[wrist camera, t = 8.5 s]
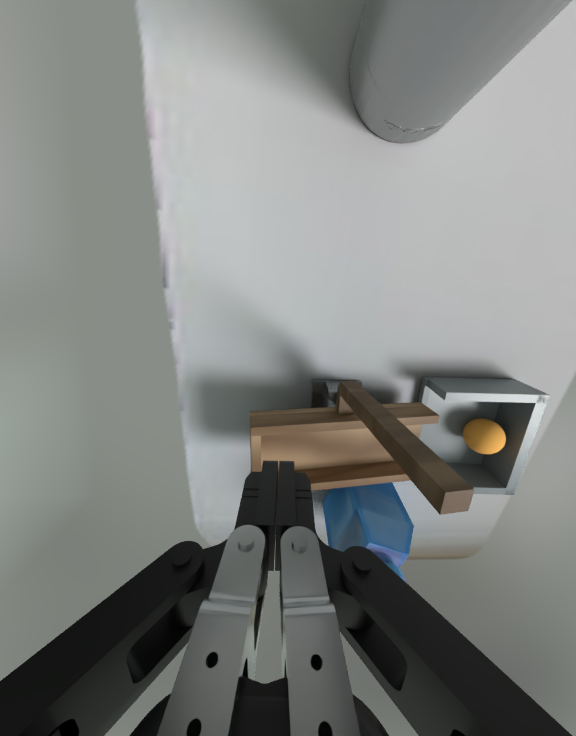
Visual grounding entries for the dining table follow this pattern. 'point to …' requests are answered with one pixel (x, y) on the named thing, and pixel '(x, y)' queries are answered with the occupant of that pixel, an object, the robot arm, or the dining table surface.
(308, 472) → the lever
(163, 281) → the dining table surface
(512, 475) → the tray
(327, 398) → the fulcrum
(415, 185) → the dining table surface
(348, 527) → the perfume bottle
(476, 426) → the ball
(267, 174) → the dining table surface
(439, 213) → the dining table surface
